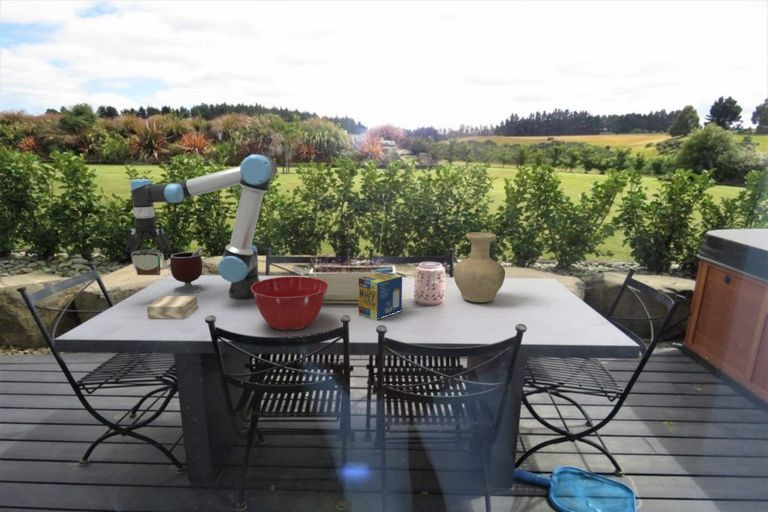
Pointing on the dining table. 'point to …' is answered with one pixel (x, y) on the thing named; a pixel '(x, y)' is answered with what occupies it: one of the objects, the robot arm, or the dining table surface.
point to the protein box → (380, 294)
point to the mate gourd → (186, 270)
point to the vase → (479, 270)
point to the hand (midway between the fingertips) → (150, 268)
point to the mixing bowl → (289, 300)
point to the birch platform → (172, 307)
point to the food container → (147, 261)
